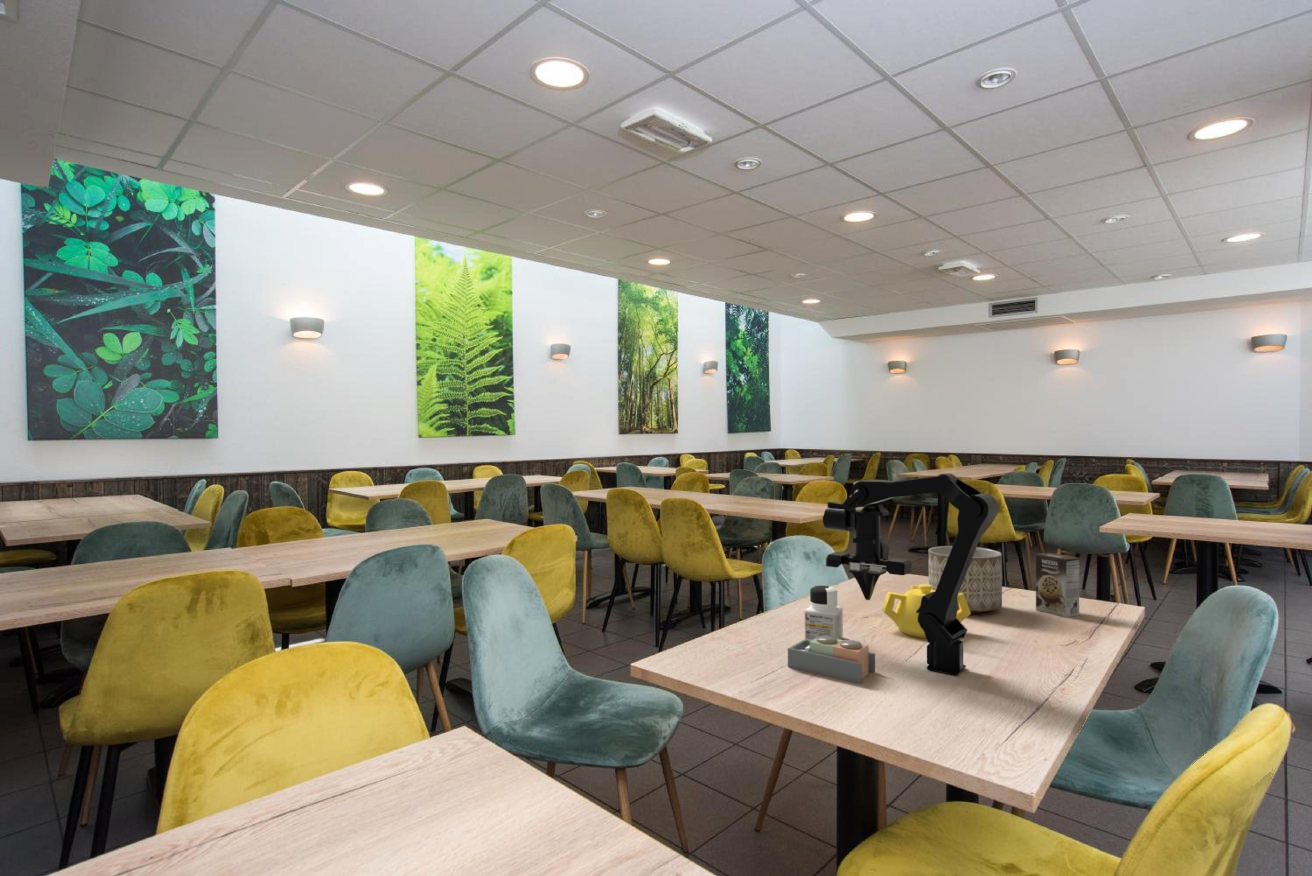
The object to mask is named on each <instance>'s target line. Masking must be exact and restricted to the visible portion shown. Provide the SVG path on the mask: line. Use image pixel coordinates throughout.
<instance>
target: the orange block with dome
mask: <svg viewBox="0 0 1312 876" xmlns="http://www.w3.org/2000/svg"><path fill="white" fill-rule="evenodd" d="M842 640H843V639H842ZM868 652H869V644H863V643H862V642H860V641H858V640H853V639H844V640H843V641H841V642H840V643H839V644H837V645H835V646H834V647H833V657H835V658H840V659H845V660H850V661H854V662H859V663H862V679H863V678H864V677H865V676H867V675H868V674H869V661H868Z"/></svg>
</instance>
